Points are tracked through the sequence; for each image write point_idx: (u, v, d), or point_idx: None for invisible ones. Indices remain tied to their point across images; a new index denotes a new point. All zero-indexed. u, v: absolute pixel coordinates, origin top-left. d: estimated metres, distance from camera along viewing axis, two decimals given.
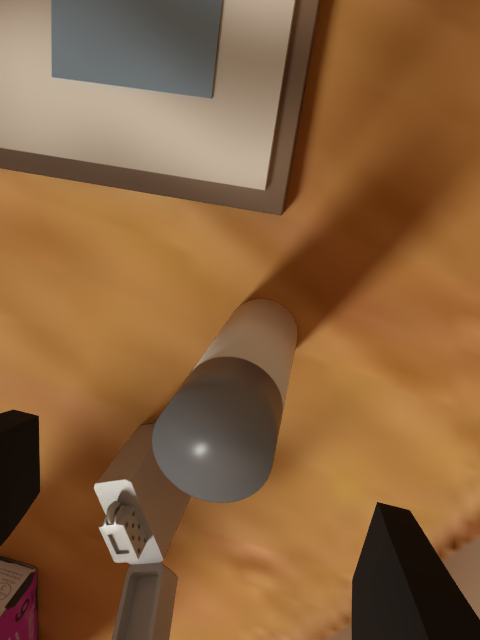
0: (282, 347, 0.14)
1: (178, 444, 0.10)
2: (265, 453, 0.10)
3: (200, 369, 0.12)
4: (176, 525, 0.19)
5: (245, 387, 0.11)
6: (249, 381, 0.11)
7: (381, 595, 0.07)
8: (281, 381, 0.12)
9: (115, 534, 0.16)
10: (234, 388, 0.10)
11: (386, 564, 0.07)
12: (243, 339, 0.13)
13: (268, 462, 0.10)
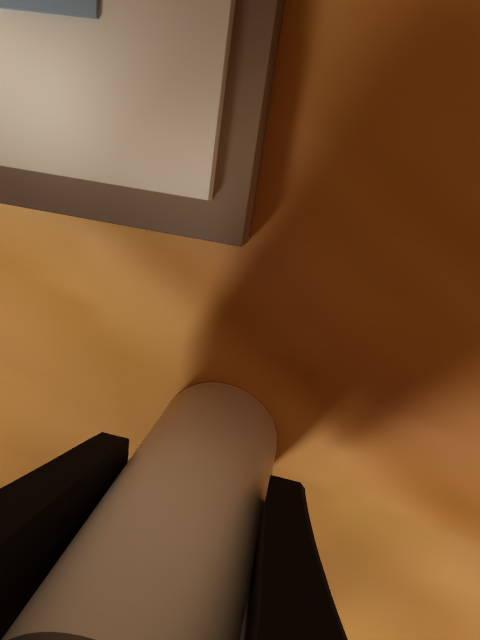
0: (233, 525, 0.07)
1: None
2: None
3: None
4: None
5: None
6: None
7: (255, 559, 0.07)
8: None
9: None
10: None
11: (260, 530, 0.07)
12: (140, 536, 0.06)
13: None
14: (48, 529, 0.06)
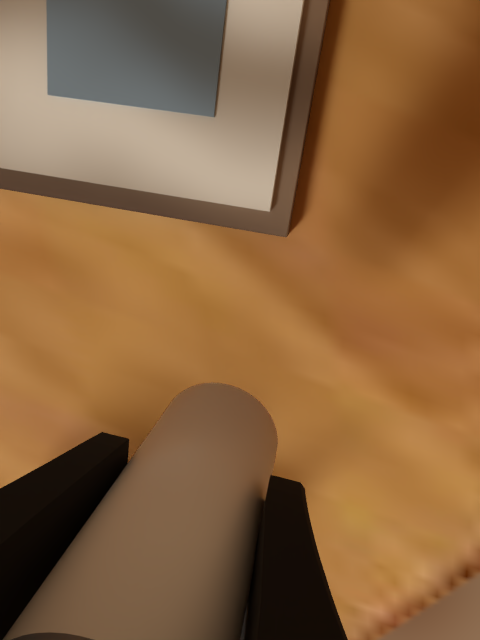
0: (234, 527, 0.07)
1: None
2: None
3: None
4: None
5: None
6: None
7: (255, 559, 0.07)
8: None
9: None
10: None
11: (261, 530, 0.07)
12: (141, 535, 0.06)
13: None
14: (48, 529, 0.06)
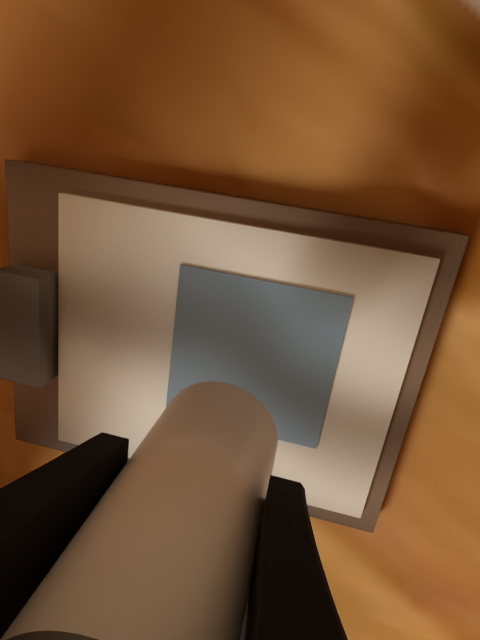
0: (234, 525, 0.07)
1: None
2: None
3: None
4: None
5: None
6: None
7: (255, 559, 0.07)
8: None
9: None
10: None
11: (260, 530, 0.07)
12: (139, 534, 0.06)
13: None
14: (48, 529, 0.06)
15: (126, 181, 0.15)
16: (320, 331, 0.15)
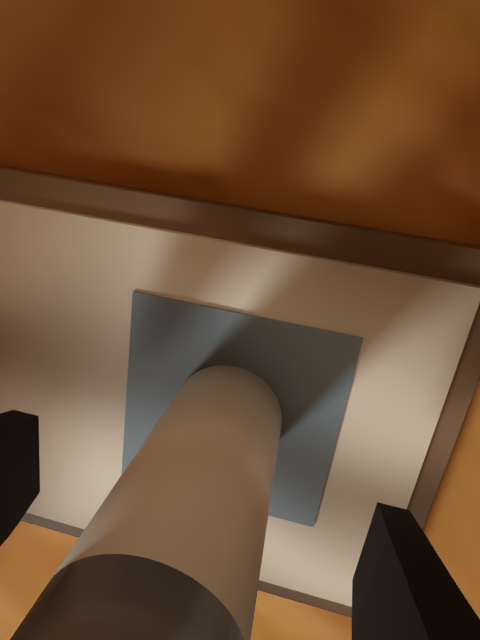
0: (251, 481, 0.08)
1: None
2: None
3: (56, 600, 0.05)
4: None
5: None
6: None
7: (381, 595, 0.07)
8: (245, 586, 0.06)
9: None
10: None
11: (386, 564, 0.07)
12: (173, 483, 0.07)
13: None
14: None
15: (61, 181, 0.11)
16: (318, 381, 0.11)
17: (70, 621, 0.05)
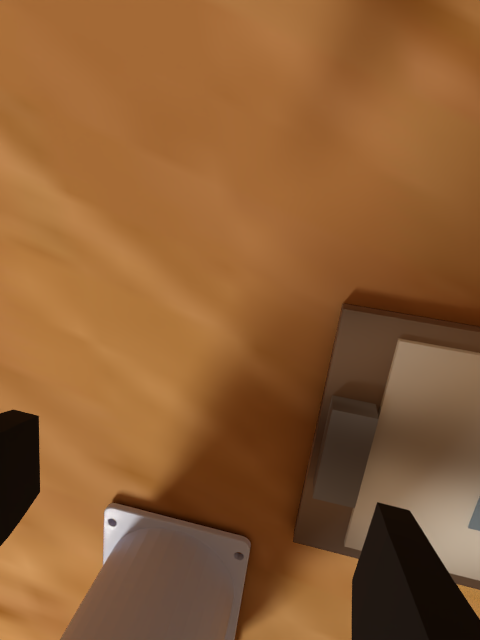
0: None
1: None
2: None
3: None
4: None
5: None
6: None
7: (381, 595, 0.07)
8: None
9: None
10: None
11: (386, 564, 0.07)
12: None
13: None
14: None
15: (468, 331, 0.16)
16: None
17: None
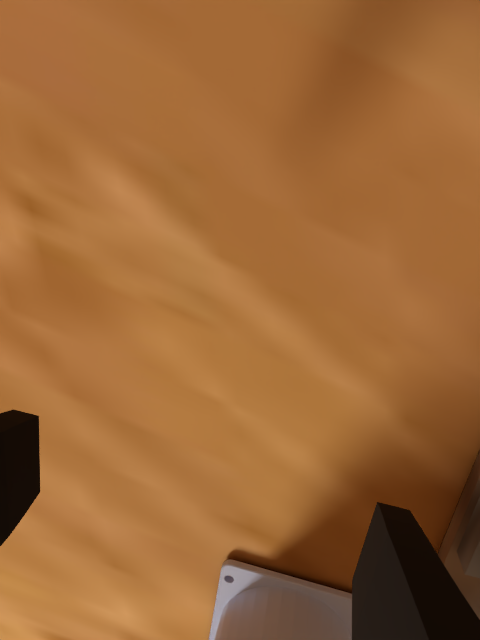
0: None
1: None
2: None
3: None
4: None
5: None
6: None
7: (381, 595, 0.07)
8: None
9: None
10: None
11: (386, 564, 0.07)
12: None
13: None
14: None
15: None
16: None
17: None
